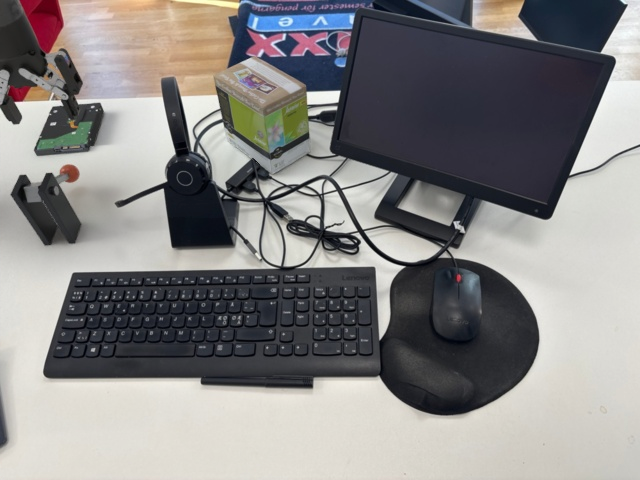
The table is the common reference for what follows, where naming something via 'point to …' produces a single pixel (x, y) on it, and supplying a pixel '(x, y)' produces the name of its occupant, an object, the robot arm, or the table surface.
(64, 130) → the disk drive
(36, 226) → the bracket
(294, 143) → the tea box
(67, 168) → the lever
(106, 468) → the table surface
